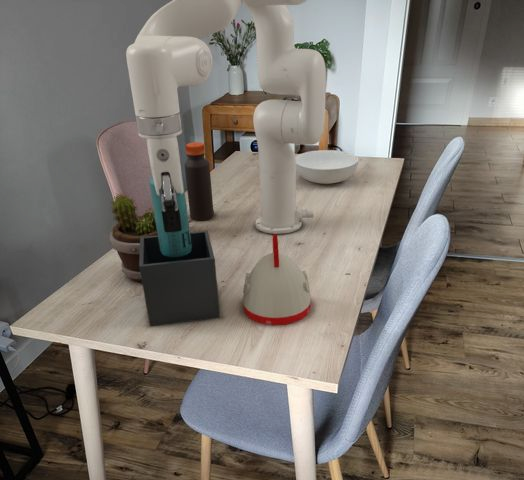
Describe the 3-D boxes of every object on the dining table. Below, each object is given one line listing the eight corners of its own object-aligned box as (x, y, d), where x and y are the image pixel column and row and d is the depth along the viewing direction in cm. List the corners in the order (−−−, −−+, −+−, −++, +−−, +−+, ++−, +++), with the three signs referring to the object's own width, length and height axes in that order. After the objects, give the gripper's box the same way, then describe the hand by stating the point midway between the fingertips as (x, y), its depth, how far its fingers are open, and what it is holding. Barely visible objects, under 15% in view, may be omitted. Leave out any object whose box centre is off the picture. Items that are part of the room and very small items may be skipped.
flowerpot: (189, 261, 130) (179, 178, 118) (167, 291, 117) (154, 202, 106) (133, 257, 132) (118, 176, 121) (106, 286, 120) (87, 199, 109)
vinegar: (186, 220, 152) (178, 147, 140) (195, 211, 157) (187, 140, 145) (209, 222, 150) (202, 148, 139) (217, 213, 155) (211, 141, 144)
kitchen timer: (307, 289, 116) (308, 223, 107) (313, 323, 105) (315, 252, 96) (243, 292, 116) (239, 226, 107) (243, 326, 105) (238, 255, 96)
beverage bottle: (187, 265, 103) (174, 159, 92) (155, 263, 104) (138, 158, 93) (197, 251, 108) (186, 149, 97) (166, 249, 109) (152, 148, 98)
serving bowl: (282, 183, 176) (281, 162, 172) (314, 167, 189) (314, 147, 185) (338, 194, 165) (339, 171, 162) (367, 176, 179) (369, 154, 175)
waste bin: (213, 285, 119) (207, 230, 111) (220, 317, 108) (214, 258, 100) (149, 292, 117) (140, 237, 110) (149, 326, 106) (139, 266, 98)
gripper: (183, 135, 85) (195, 240, 96) (178, 113, 99) (189, 206, 110) (136, 138, 84) (153, 244, 95) (137, 116, 98) (152, 210, 109)
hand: (172, 223), depth 102 cm, fingers closed on beverage bottle, 6 cm apart
